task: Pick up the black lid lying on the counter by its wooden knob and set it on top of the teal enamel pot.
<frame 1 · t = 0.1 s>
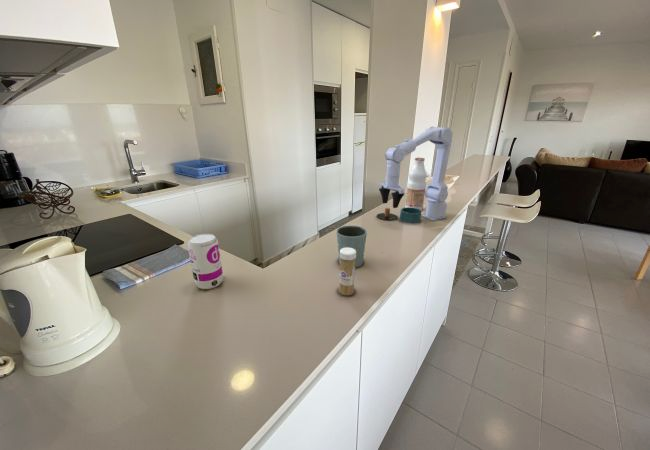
hand: (390, 205, 127), 10 cm above the worktop, tool pointing down, fingers open, 7 cm apart
lid: (386, 217, 140), point 1 cm above the worktop
sprinkles bottle: (346, 292, 81), on the worktop
grey green cup: (350, 262, 98), on the worktop
pot: (409, 220, 137), on the worktop
supplement can: (209, 283, 85), on the worktop
fruit juice: (413, 209, 155), on the worktop
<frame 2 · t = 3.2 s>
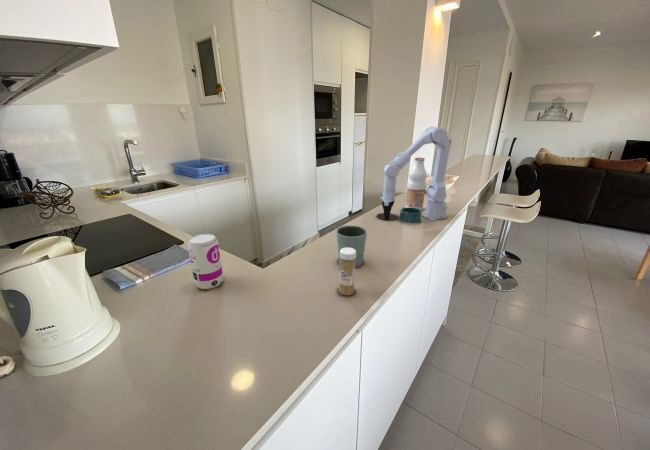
hand: (387, 215, 140), 1 cm above the worktop, tool pointing down, fingers closed on lid, 2 cm apart
lid: (386, 217, 140), point 1 cm above the worktop, touching gripper
everything else where it was.
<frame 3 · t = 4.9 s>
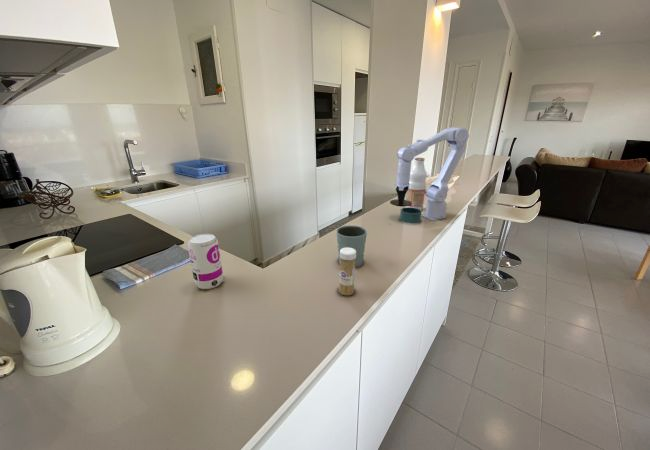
hand: (401, 201, 135), 9 cm above the worktop, tool pointing down, fingers closed on lid, 2 cm apart
lid: (400, 203, 136), point 9 cm above the worktop, touching gripper
everything else where it was.
when the fingers open (6 cm above the worktop, at t = 6.6 s): lid stays where it is, resting on pot.
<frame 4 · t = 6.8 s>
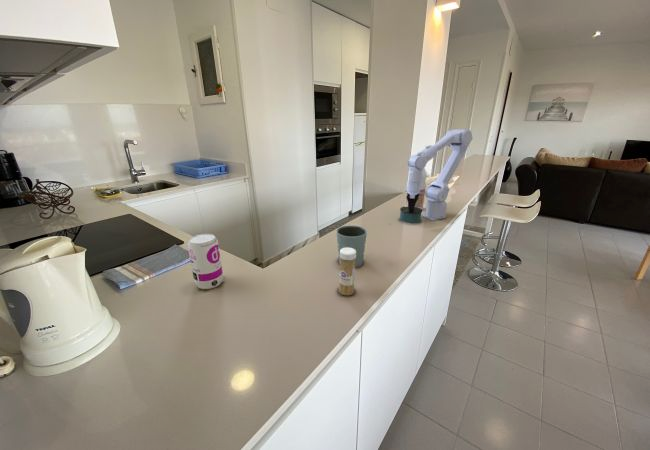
hand: (411, 209, 135), 6 cm above the worktop, tool pointing down, fingers open, 3 cm apart
lid: (411, 210, 135), point 5 cm above the worktop, touching pot
everything else where it was.
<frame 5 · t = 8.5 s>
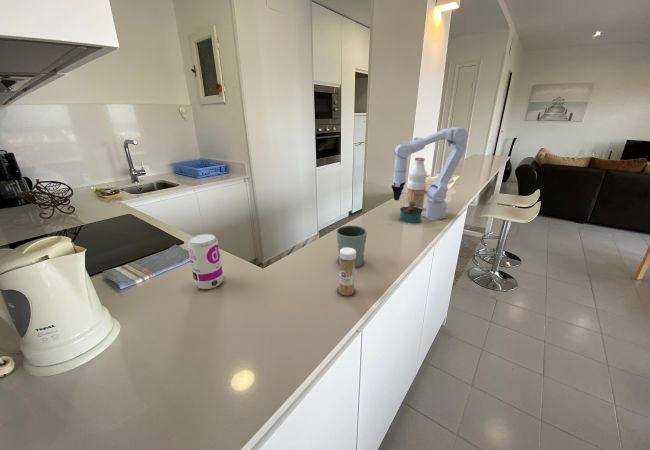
hand: (397, 198, 137), 10 cm above the worktop, tool pointing down, fingers open, 7 cm apart
nothing on the worktop moved.
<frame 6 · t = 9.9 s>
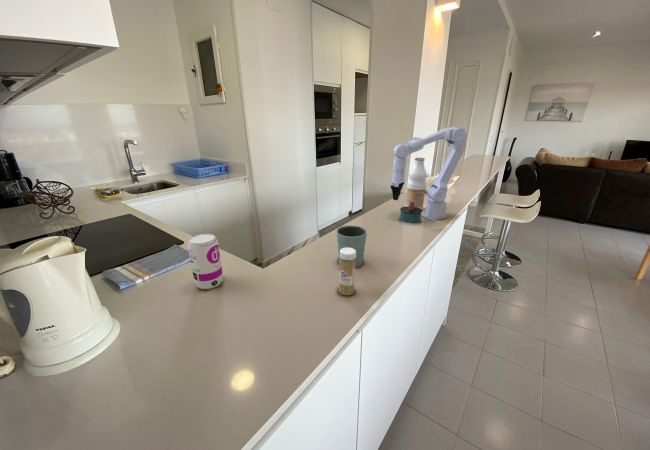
hand: (396, 198, 138), 10 cm above the worktop, tool pointing down, fingers open, 7 cm apart
nothing on the worktop moved.
at the end: lid 0.0 cm off-centre on the pot, point 5.4 cm above the pot's base; lid tilted 0°; the gripper is holding nothing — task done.
